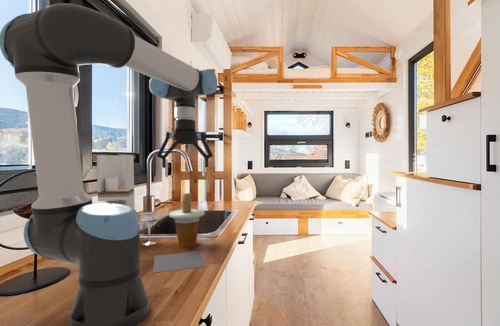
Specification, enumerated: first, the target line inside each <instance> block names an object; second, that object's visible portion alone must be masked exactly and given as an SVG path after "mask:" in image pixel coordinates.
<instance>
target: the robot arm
mask: <svg viewBox="0 0 500 326" xmlns="http://www.w3.org/2000/svg"><path fill="white" fill-rule="evenodd" d="M0 52H1V53H2V56H3V58H4V59H5V60H6V61H8V62H9V63H10V66H11V67H12V68H13V69H14V75H15V79H17V80H18V81H19V82H21V83H22V84H23V85H24V86H25V92H26V99H27V106H28V107H27V108H28V109H27V110H28V116H29V123H30V134H31V141H32V148H33V149H32V150H33V159H34V166H35V167H34V168H35V175H36V183H37V190H38V191H37V192H38V197H37V199H36V200H35V201H33V203H32V204H31V207H30V208H31V215H30V216H29V219H28V220H27V221H25V224H24V227H23V239H24V243H25V244H26V246H27V248H28V249H29V250H30V251H31V252H32V253H34V254H35V255H37V256H40V257H42V258H45V259H47V260H50V261H52V260H53V261H61V262H66V263H70V264H71V263H72V264H75V265H78V266H77V269H78V270H77V271H78V288H77V290H76V291H77V292H76V295H75V298H74V299H73V302H72V303H73V304H72V306H71V310H70V312H69V318H68V319H69V322H68V323H69V326H136V325H138V324H139V323H140V322H142V321H143V320H144V319H145V318H146V317H147V316H148V314H149V311H150V298H149V295H148V293H147V290H146V287H145V285H144V283H143V280H142V277H141V272H140V271H141V270H140V264H141V263H140V257H141V253H140V251H141V250H140V244H141V243H140V242H141V241H140V240H141V239H140V230H141V229H140V227H141V225H140V223H139V222H140V220H139V214H138V212H137V210H136V209H133V208H132V207H130V206H127V205H122V204H109V203H105V202H103V203H102V202H101V203H93V197H92V196H91V195H89V194H88V193H87V192H86V191H85V189H84V188H85V187H84V182H83V181H84V179H83V171H82V170H83V169H82V161H81V152H80V143H79V133H78V123H77V114H76V106H75V105H76V104H75V103H76V102H75V96H74V87H75V86H76V85H77V84H78V83H80V81H81V79H80V78H81V77H80V69H79V68H80V67H81V66H85V65H105V66H108V67H111V68H114V69H122V68H127V69H128V70H132V71H134V72H137V73H140V74H141V75H145V76H147V77H149V78H150V79H149V83H148V85H149V86H148V87H149V91H150V92H151V94H152V95H154V96H156V97H159V98H161V99H165V100H169V101H172V102H174V119H175V120H174V132H169V131H167V132H166V134H165V139H164V141H163V143H162V145H161V147H160V149H159V150H158V152H157V155H156V157H157V158H159V159H161V163H162V164H161V167H162V168H163V169H165V178H168V177H169V174H168V173H169V172H168V171H169V165H168V164H169V160H168V159H167V157H168V156H169V155H170V154H171V153H172V151H173V150H175V148H176V147H177V146H178V144H179V145H181V146H182V145H183V146H184V145H187V146H190V145H192V146H193V147H194V148H195V149H196V150H197V152H198V153H200V154H201V156H202V157H203V158H202V164H201V165H202V168H201V169H202V173H201V174H202V177H206V168H208V167H209V159H210V158H213V156H214V155H213V153H212V151H211V149H210V147H209V145H208V143H207V141H206V139H205V133H204V132H201V133H197V132H196V120H195V119H196V96H207V95H211V94H215V92H216V91H217V90H218V78H217V75H216V73H215V71H213V70H211V69H202V70H200V69H197V68H196V67H193V66H192V65H189V64H188V63H187V62H185V61H182V60H181V59H179V58H177V57H175V56H173V55H172V54H170V53H168V52H166V51H164V50H162V49H160V48H159V47H157V46H155V45H153V44H152V43H149V41H148V42H147V40H144V39H142V38H141V37H139V36H137V35H136V34H135V33H134V30H133V29H132V28H131V26H128V25H126V24H125V23H123V22H121V21H119V20H118V19H115V18H113V17H112V16H110V15H107V14H104V13H103V12H101V11H98V10H95V9H94V8H93V9H92V8H89V7H86V6H83V5H79V4H74V3H69V2H68V3H65V2H64V3H63V2H62V3H60V2H58V3H54V4H51V5H50V4H49V5H48V6H46V7H43V8H40V9H38V10H36V11H33V12H29V13H23V14H20V15H17V16H15V17H13V19H11V20H9V21H7V22H6V23H5V24H4V25H3V27H2V28H1V30H0ZM172 138H174V139H175V141H174V143H172V145H171V146H169V149H168V150H167V151H166V152H165V153H164V154H163V152H164V150H165V149H166V146H167V144H168V142H169V140H170V139H172ZM197 138H198V139H199V140H200V141H201V144H202V145H203V147H204V150H205V151H204V150H203V149H202V148H201V147H200V145H199V144H198V143H197V141H196V140H195V139H197ZM205 152H206V153H205ZM162 154H163V155H162Z"/></svg>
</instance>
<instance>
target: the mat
mask: <svg viewBox="0 0 500 326" xmlns="http://www.w3.org/2000/svg"><path fill="white" fill-rule="evenodd" d="M205 265H206V264H205V262H204V259H203V257H202V254H201V252H200V250H196V251H187V252H179V253H178V252H177V253H176V252H175V253H169V254H168V253H167V254H158V255H154V257H153V266H152V267H153V268H152V274H157V273H165V272H171V271H179V270H181V271H182V270H188V269H195V268H196V269H197V268H198V269H199V268H206V266H205Z"/></svg>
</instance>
